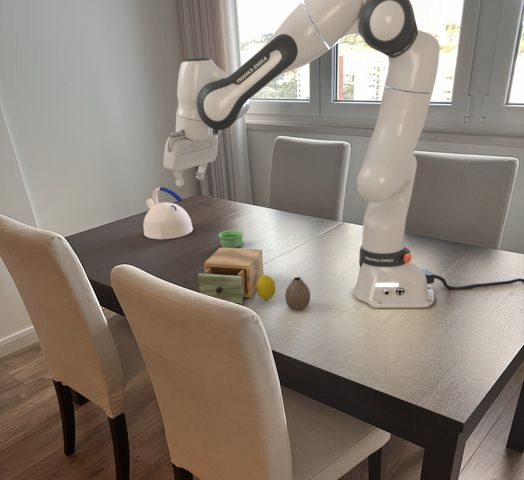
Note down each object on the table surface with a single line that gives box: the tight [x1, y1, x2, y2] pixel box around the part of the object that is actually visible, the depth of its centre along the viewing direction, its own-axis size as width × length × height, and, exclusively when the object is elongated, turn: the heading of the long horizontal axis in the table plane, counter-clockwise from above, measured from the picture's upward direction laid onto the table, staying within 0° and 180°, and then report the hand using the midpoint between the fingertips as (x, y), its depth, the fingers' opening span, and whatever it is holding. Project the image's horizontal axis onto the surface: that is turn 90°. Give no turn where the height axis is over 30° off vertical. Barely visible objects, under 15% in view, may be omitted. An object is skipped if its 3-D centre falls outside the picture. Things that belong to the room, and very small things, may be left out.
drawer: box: [197, 267, 248, 305], centre depth 143 cm, size 14×13×8 cm
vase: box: [284, 276, 311, 312], centre depth 134 cm, size 7×7×9 cm
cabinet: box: [203, 246, 264, 298], centre depth 149 cm, size 14×14×10 cm
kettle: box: [142, 186, 194, 241], centre depth 198 cm, size 20×21×18 cm
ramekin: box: [218, 229, 244, 248], centre depth 183 cm, size 9×9×4 cm
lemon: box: [255, 274, 276, 302], centre depth 140 cm, size 6×6×8 cm
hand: (190, 182), depth 134 cm, fingers open, 8 cm apart
